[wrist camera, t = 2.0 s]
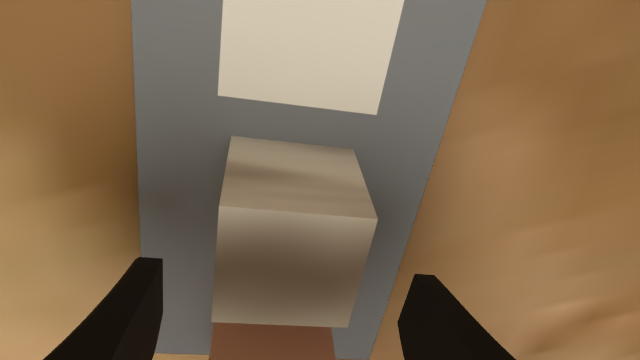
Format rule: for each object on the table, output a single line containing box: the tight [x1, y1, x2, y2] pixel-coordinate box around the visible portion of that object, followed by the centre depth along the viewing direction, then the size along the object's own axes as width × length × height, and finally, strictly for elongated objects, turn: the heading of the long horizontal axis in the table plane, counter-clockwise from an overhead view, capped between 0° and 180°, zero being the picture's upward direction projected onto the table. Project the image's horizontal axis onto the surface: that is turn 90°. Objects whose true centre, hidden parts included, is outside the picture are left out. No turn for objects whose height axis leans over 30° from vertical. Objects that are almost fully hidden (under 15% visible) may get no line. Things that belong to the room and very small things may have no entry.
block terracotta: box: [209, 322, 336, 360], centre depth 19 cm, size 4×4×4 cm
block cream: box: [211, 136, 378, 328], centre depth 16 cm, size 4×4×4 cm
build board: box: [131, 0, 487, 360], centre depth 18 cm, size 19×11×1 cm, turn 171°
